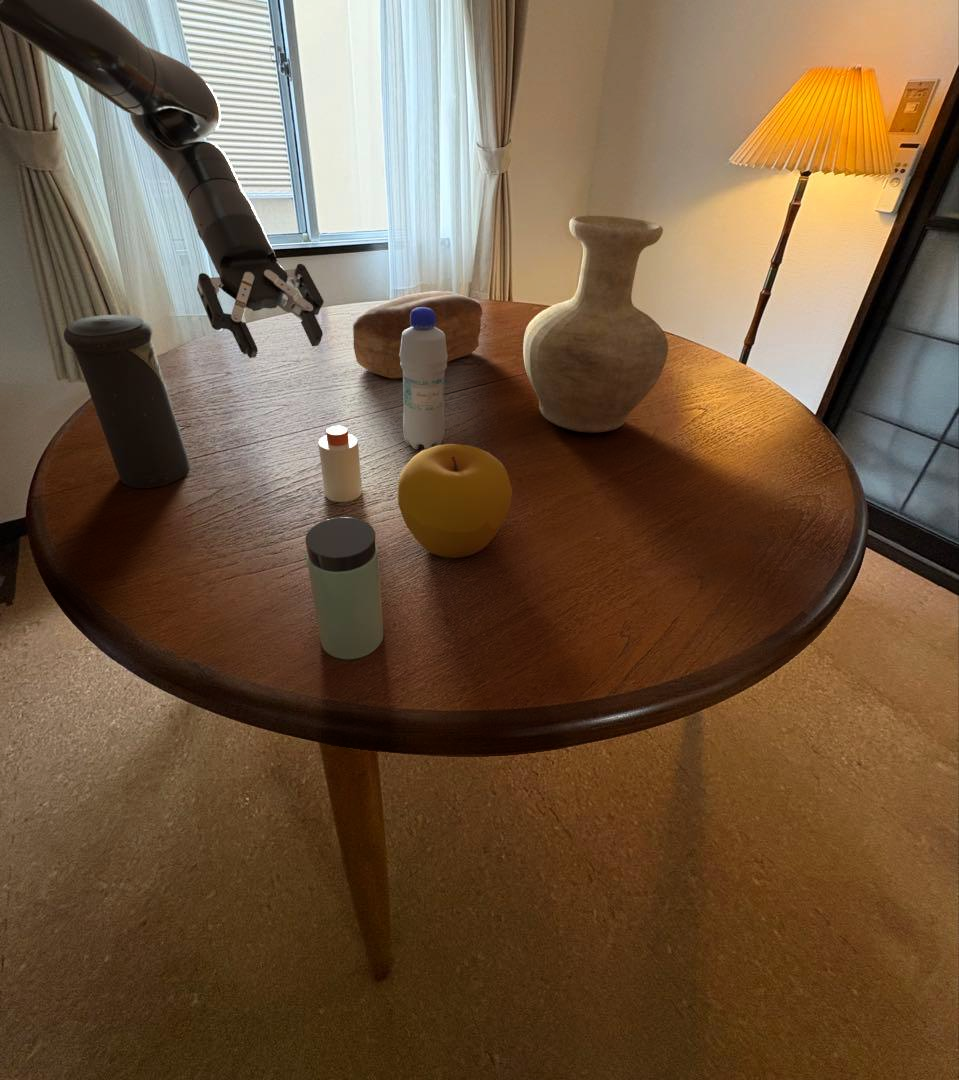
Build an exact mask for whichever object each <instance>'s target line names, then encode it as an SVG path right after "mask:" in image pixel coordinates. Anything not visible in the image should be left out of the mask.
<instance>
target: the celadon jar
mask: <svg viewBox="0 0 959 1080" xmlns="http://www.w3.org/2000/svg"><path fill="white" fill-rule="evenodd" d="M304 539H305V540H304V541H305V547H306V551H305V558H306V564H307V570H308V577H309V582H310V589H311V594H312V599H313V607H314V612H315V618H316V624H317V630H318V636H319V641H320V645H321V648H322V649H323V650H324V652H326V653H327V654H328V655H329V656H331V657H333V658H337V659H340V660H356V659H361V658H364V657H366V656H368V655H370V654H372V653H373V652H374V651H376V650H377V649H378V648H379V646H381V643H382V642H383V639H384V634H385V633H384V632H385V630H384V617H383V616H384V615H383V603H382V602H383V601H382V588H381V572H380V559H379V557H380V555H379V546H378V544H377V540H376V532H375V529H374V528H373V526H372V525H371V524H369V523H368V522H367V521H365V520H363V519H360V518H356V517H350V516H339V517H332V518H328V519H325V520H322V521H320V522H318V523H316V524H315V525H314V526H312V527H311V528H310V529H309V530H308V532H307V533H306V535H305V538H304Z"/></svg>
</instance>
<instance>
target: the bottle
mask: <svg viewBox="0 0 959 1080" xmlns="http://www.w3.org/2000/svg"><path fill="white" fill-rule="evenodd" d="M435 322H436V317H435V313H434V311H433V310H432V309H430V308H425V307H419V308H415V309H413V310H412V311H411V315H410V323H411V326H412V327H410V328H408V329H406V330H404V331H403V332H402V338H401V348H400V359H401V363H400V365H401V367H402V369H403V378H402V387H403V388H402V389H403V393H402V394H403V419H402V431H403V432H402V433H403V438H404V441H405V443H406V444H407V445H409V446H411V448H413V449H414V450H419V448H420V445H422V446H423V450H426V449H429V448H431V447H434V446H438V445H442V443H443V442H442V441H443V439H444V437H445V431H446V423H445V421H446V420H445V371H446V369H447V367H448V362H447V358H448V355H447V348H446V339H445V334H444V332H443V331H441V330H439V329H438V328H436V327H435ZM446 362H447V363H446Z"/></svg>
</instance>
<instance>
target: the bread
mask: <svg viewBox="0 0 959 1080" xmlns="http://www.w3.org/2000/svg"><path fill="white" fill-rule="evenodd" d="M419 307H425V308H430V309H432V310H433V311H434V313H435V317H436V322H435V327H436V328H438V329H439V330H441V331H443V332H444V334H445V339H446V348H447V355H448V358H447V362H446V363H447V364H448V363H449V362H451V361H454V360H457V359H459V358H462V357H467V356H468V355H472V353H473V352H475V351H476V350H477V349H478V347H479V346H480V344H479V343H480V342H479V338H480V334H481V328H482V327H481V326H482V324H481V323H482V322H481V321H482V319H481V318H482V316H483V308H482V306H481V304H480V303H479V302H477V301H476V300H475V299H473V298H471V297H469V296H465V295H462V294H459V293H456V292H453V291H445V290H441V291H440V290H431V291H424V292H418V293H411V294H405V295H401V296H399V297H396V298H393V299H390V300H387V301H385V302H382V303H379V304H377V305H374V306H372V307H370V308H368V309H367V310H365V311H363V312H362V313H360V314H358V316H357V317H356V319H355V321H354V322H353V325H352V334H353V335H352V336H353V352H354V356H355V359H356V363H357V364H359V366H360V367H362V368H363V369H365V370H367V371H368V372H370V373H372V374H375V375H378V376H381V377H385V378H389V379H403V369H402V367H401V365H400V363H401V359H400V348H401V338H402V332H403V331H404V330H406V329H408V328H410V327H412V326H411V323H410V315H411V311H412V310H413V309H415V308H419Z"/></svg>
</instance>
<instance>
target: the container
mask: <svg viewBox="0 0 959 1080" xmlns="http://www.w3.org/2000/svg"><path fill="white" fill-rule="evenodd" d="M152 336H153V327H152V325H151V324H150V323H149V322H148V321H146V320H144V319H143V318H140V317H138V316H135V315H128V314H102V315H93V316H86V317H83V318H80V319H76V320H75V321H73V322H71V323H70V324H69V325H68V326H67V327H66V328H65V330H64V331H63V340H64V341H65V343H66V344H67V345H68V346H70V347H71V349H73V352H74V355H75V358H76V360H77V363H78V365H79V367H80V370H81V373H82V376H83V378H84V380H85V382H86V387H87V389H88V391H89V395H90V398H91V401H92V403H93V406H94V408H95V411H96V415H97V417H98V420H99V423H100V426H101V428H102V431H103V434H104V437H105V440H106V443H107V446H108V448H109V451H110V455H111V457H112V460H113V464H114V466H115V469H116V472H117V474H118V477H119V479H120V482H121V483H123V484H124V485H125V486H128V487H129V488H134V489H151V488H157V487H163V486H166V485H170V484H172V483H174V482H177V481H178V480H180V479H183V477H185V476H186V475H187V474H188V473H189V471H190V469H191V463H190V459H189V455H188V452H187V448H186V445H185V443H184V439H183V436H182V433H181V430H180V427H179V424H178V420H177V418H176V414H175V411H174V408H173V406H172V402H171V398H170V395H169V391H168V388H167V385H166V382H165V380H164V376H163V373H162V370H161V367H160V363H159V361H158V357H157V354H156V351H155V347H154V345H153V342H152Z"/></svg>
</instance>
